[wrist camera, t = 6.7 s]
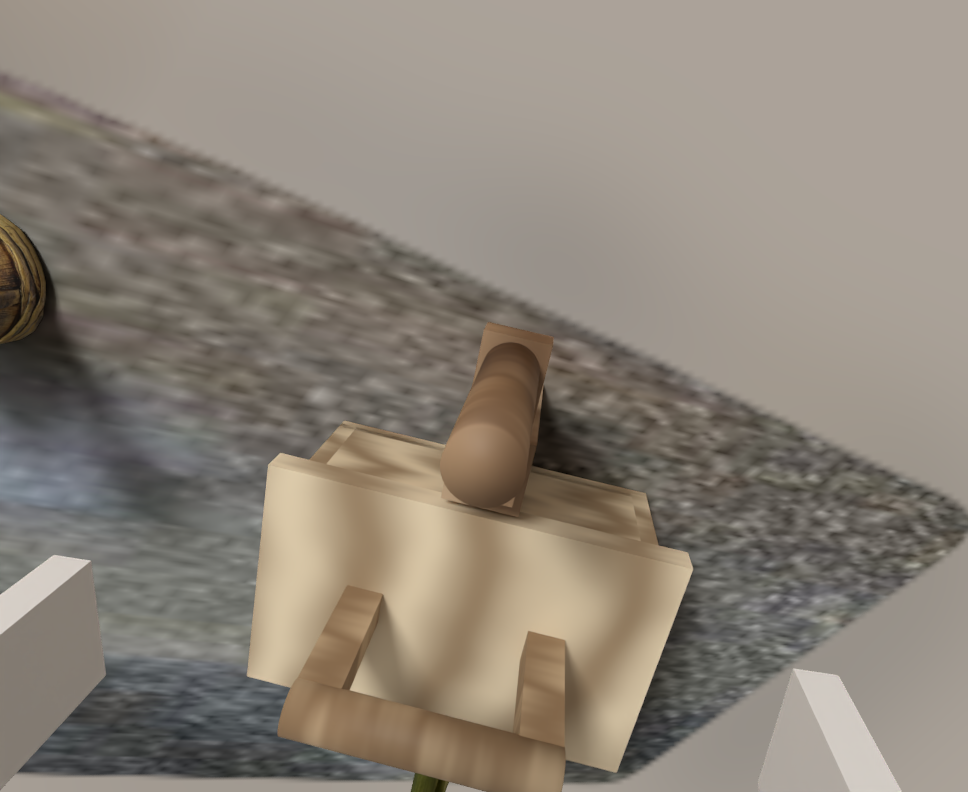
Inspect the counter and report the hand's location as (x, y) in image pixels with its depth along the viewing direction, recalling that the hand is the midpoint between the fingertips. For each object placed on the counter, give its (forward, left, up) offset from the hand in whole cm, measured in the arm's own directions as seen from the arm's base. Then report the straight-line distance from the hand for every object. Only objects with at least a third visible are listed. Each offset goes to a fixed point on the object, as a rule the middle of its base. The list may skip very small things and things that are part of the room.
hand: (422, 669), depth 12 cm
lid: (0, -15, -20) cm, 25 cm away
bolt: (0, -2, -19) cm, 19 cm away
